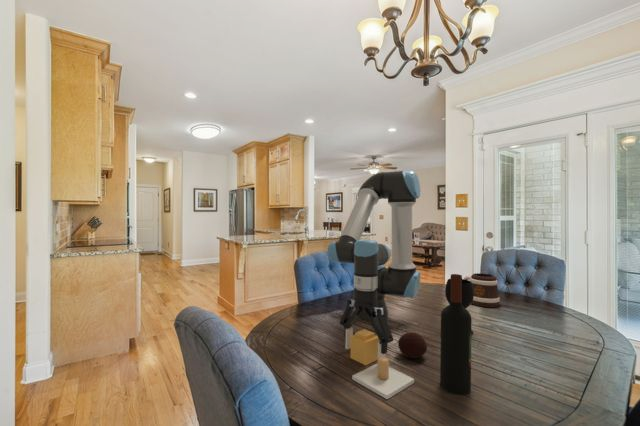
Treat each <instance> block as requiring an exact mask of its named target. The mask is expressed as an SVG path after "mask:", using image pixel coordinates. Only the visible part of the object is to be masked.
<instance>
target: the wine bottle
mask: <svg viewBox="0 0 640 426" xmlns="http://www.w3.org/2000/svg"><path fill="white" fill-rule="evenodd" d="M450 279H451V301H450V304H449V303H448V305H447V306H445V307H444V308H443V309H442V310H441V311H440V312H441V314H440V360H439V361H440V366H439V368H440V369H439V370H440V373H439V375H440V378H439V380H440V381H439V383H440V384H439V385H440V387H441V388H442V389H443V390H444V391H446V392H447V393H451V394H455V395H458V396H459V395H462V396H463V395H468V394H470V393H471V391H472V390H471V389H472V386H471V385H472V335H471V330H472V315H471V313H470V311H469V310H467V308H466V309H465V308H464V307H463V306H462V279H463V275H462V274H457V273H451V274H450Z"/></svg>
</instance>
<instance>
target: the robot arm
mask: <svg viewBox="0 0 640 426" xmlns="http://www.w3.org/2000/svg"><path fill="white" fill-rule="evenodd" d="M420 183H421V182H420V180H419V176H418V175H417V173H416V171H413V170H399V171H398V170H395V171H387V172H386V171H385V172H384V171H382V172H378V173H375V174H373V175H371V176H370V177H368V178H367V179H366V180H365V181H364V182H363V184H361V186H360V187H359V189H358V191H357V194H356V196H357V197H356V202H355V204H354V206H353V208H352V210H351V211H350V213H349V217H348V219H347V221H346V223H345V225H344V227H343V230H342V231H341V234H340V236H339V238H338V240H337V241H336V240H335V241H331V242H330V243H329V244H328V246H327V250H326V251H327V257H328V259H329V260H330V261H331V262H335V263H342V264H353V287H354V288H353V298H351V299H347V300H346V306H345V309H344V312H343V314H342V316H341V319H340V321H339V324H340V326H342V327H343V328H344V335H343V336H344V338H345V344H344V345H345V347H344V348H345V350H349V349H350V350H351V336H352V335H354V328H353V325H354V324H355V322H356V321H357V320H358V319H360V320H365V321H368V322H369V323H370V324H371V326H372V328H373V330H374V332H375V335H376V336H377V337H378V338H379V342H378V358H379V357H386V354H387V353H388V344H389V343H392V342H393V341H394V336H393V333H392V331H391V329H390V326H389V323H388V318H389V310H388V307H387V302H386V298H385V296H391V297H392V296H394V297H399V298H405V299H406V298H407V299H413V298H415V297H416V296H417V294H418V292H419V289H420V283H421V272H420V271H419V270H417V266H416V265H415V264H414V262H413V207H414V205H416V204H417V203H416V202H417V199H419V198H420V197H421V185H420ZM384 199H385V200H387V204H388V205H389V206H390V207H391V250H390V247H388V246H387V244H383V243H378V241H377V240H376V239H375V240H374V239H361V237H362V235H363V233H364V231H365V229H366V226H367V223H368V221H369V219H370V216H371V214H372V211H373V209H374V206H375V205H377V204H378V202H379V200H384ZM390 259H391V262H390V263H389V264H388V267H386V264H387V263H388V262H389V261H390ZM353 310H354V311H353Z"/></svg>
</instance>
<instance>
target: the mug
mask: <svg viewBox="0 0 640 426" xmlns="http://www.w3.org/2000/svg"><path fill="white" fill-rule="evenodd" d="M463 279H465V280H469V281H471V282H472V286H473V291H474V298H473V301H472V303H471V304H470V305H473V306H476V307H480V308H492V309H493V308H498V307H499V306H500V301H501V300H500V299H501V298H500V297H499V289H498V284H499V281H498V279H497V277H496V276H495V275H493V274H490V273H489V274H488V273H472V274H471V276H470V275H466V276H465V277H463Z"/></svg>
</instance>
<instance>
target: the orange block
mask: <svg viewBox="0 0 640 426" xmlns="http://www.w3.org/2000/svg"><path fill="white" fill-rule="evenodd" d="M354 333H355V334H353V335H352V336H351V348H350V357H349V358H350V359H351V360H354V361H356V362H357V363H359V364H362V365H364V366H368V365H370V364H372V363H373V362H376V361H378V342H380V340H379V338H378V336H377V335H376V332H375V333H374V332H373V331H370V330H367V329H365V328H364V329H361V330H358V331H355V332H354Z"/></svg>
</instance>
